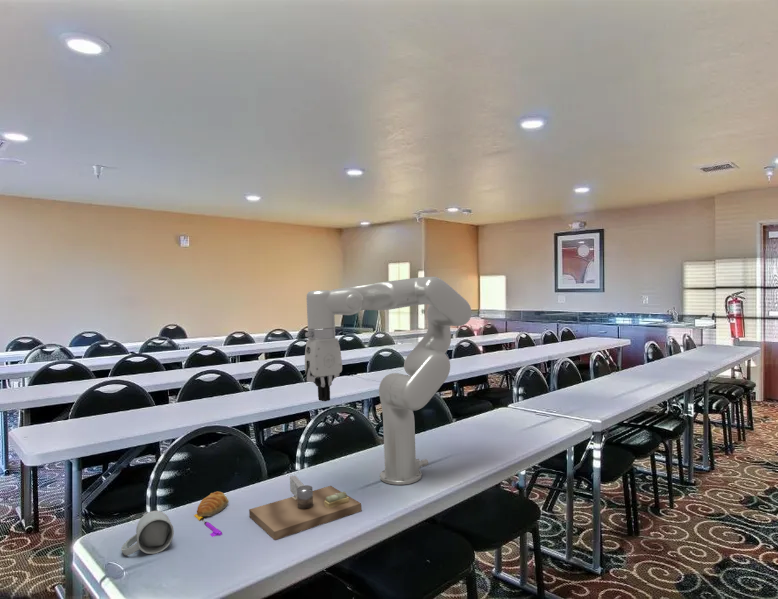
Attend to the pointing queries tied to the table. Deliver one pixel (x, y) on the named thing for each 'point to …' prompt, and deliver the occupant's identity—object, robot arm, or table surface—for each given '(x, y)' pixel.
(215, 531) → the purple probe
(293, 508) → the brown wooden board
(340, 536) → the table surface
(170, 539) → the ceramic mug
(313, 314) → the robot arm
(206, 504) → the pastry
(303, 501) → the ball-ended lever
